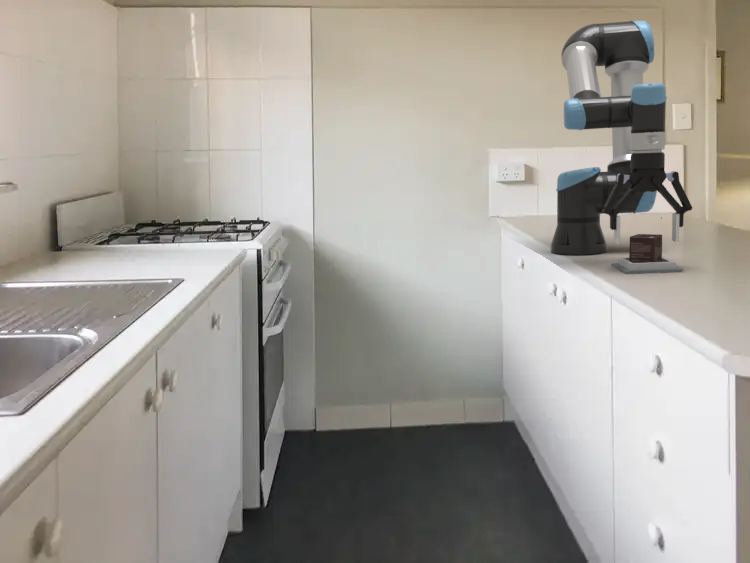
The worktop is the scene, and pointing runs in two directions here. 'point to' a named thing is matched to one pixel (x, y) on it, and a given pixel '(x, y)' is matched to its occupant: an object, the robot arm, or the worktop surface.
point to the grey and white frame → (646, 266)
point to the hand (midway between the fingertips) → (646, 242)
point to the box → (645, 248)
